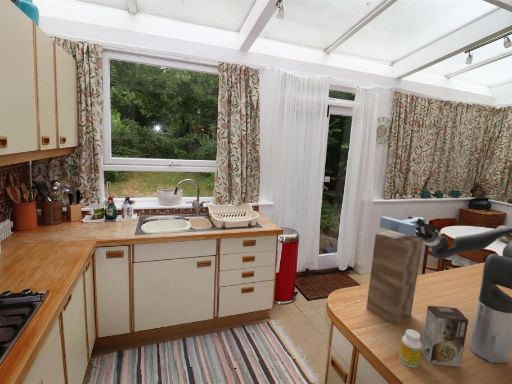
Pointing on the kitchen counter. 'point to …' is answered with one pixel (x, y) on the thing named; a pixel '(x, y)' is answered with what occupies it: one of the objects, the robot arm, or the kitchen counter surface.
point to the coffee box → (444, 336)
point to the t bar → (400, 225)
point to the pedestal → (394, 275)
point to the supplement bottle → (410, 348)
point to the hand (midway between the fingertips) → (413, 219)
